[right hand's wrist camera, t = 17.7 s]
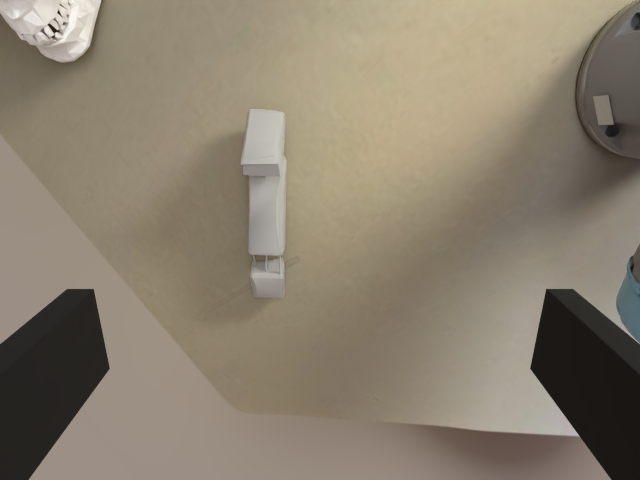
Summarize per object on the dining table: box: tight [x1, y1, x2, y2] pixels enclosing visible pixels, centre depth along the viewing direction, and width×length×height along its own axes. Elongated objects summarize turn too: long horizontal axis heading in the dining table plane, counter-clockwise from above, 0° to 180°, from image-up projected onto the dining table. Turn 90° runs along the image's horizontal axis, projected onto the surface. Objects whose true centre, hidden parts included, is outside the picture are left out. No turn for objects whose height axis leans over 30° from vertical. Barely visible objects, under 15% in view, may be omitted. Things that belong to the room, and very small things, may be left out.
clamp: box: [240, 108, 287, 298], centre depth 44 cm, size 20×4×7 cm, turn 179°
